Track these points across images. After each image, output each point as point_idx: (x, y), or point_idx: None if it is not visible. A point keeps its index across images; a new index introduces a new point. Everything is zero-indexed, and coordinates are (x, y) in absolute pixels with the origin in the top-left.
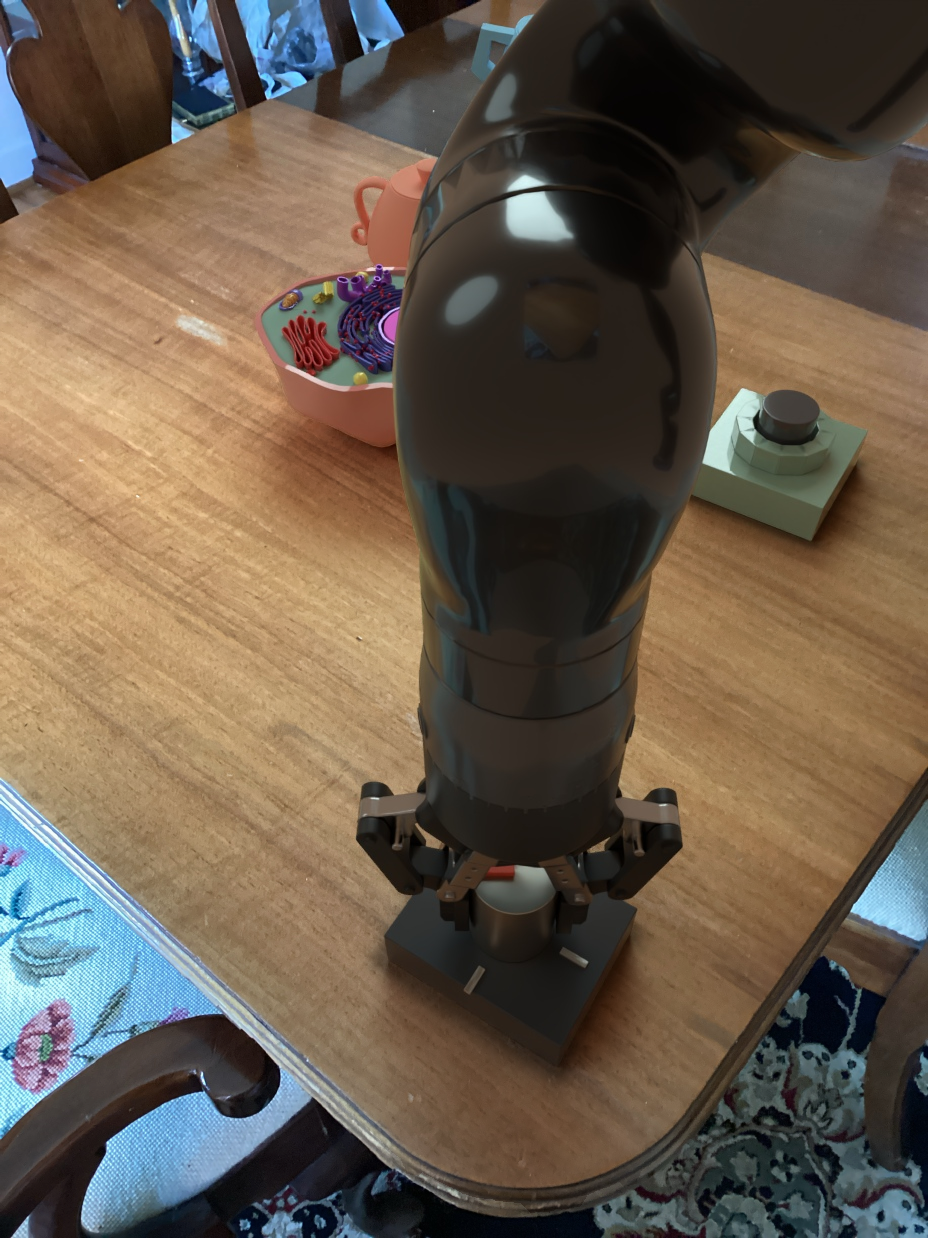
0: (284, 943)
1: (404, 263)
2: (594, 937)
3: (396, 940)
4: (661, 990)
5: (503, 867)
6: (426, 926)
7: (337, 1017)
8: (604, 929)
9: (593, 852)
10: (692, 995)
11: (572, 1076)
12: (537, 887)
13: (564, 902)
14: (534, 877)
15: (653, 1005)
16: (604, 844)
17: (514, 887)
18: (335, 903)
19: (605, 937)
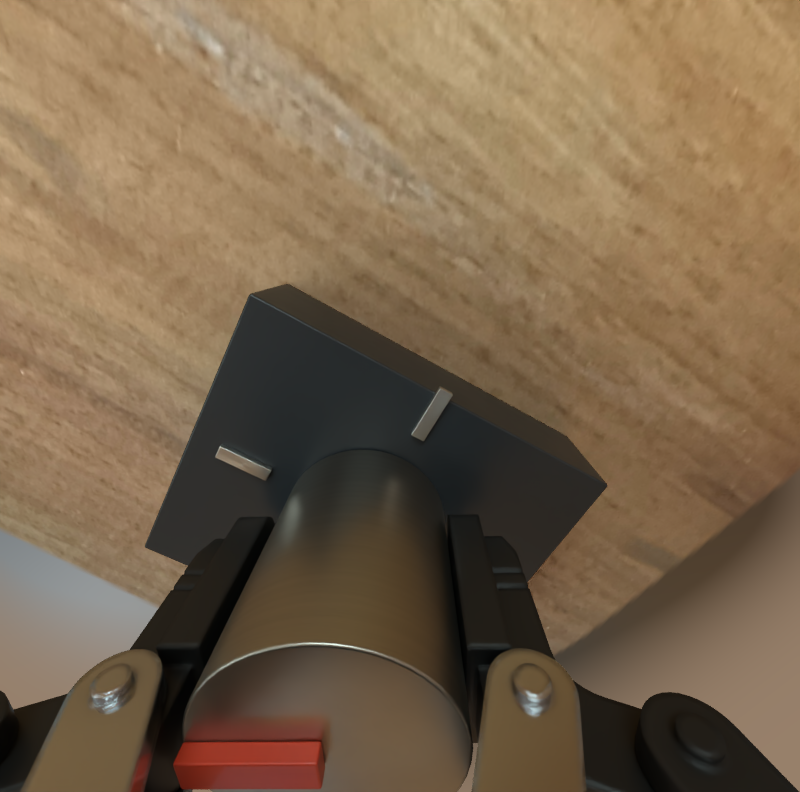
0: (38, 473)
1: None
2: (516, 536)
3: (167, 555)
4: (597, 512)
5: (283, 778)
6: (213, 531)
7: (152, 558)
8: (537, 525)
9: (603, 788)
10: (640, 516)
11: None
12: (398, 786)
13: (474, 739)
14: (388, 767)
15: (580, 530)
16: (650, 749)
17: (329, 787)
18: (87, 411)
19: (536, 536)
